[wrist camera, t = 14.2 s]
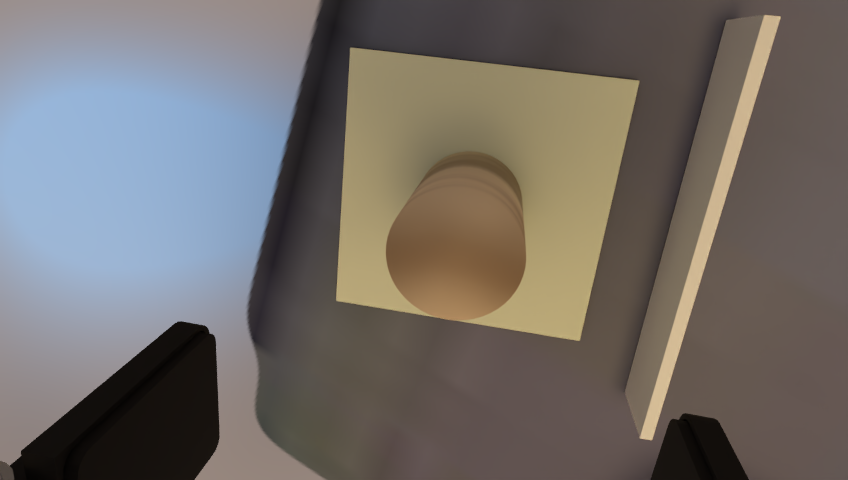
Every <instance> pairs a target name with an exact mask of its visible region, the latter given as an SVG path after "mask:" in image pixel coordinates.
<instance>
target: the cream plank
mask: <svg viewBox="0 0 848 480" xmlns="http://www.w3.org/2000/svg"><path fill="white" fill-rule="evenodd" d="M780 18H781V17H779V16H769V15H761V16H753V17H746V18H738V19H731V20H726V23H725V26H724V30H723V34H722V37H721V41H720V44H719V48H718V52H717V55H716V59H715V63H714V66H713V70H712V74H711V77H710V81H709V85H708V88H707V92H706V96H705V99H704V103H703V107H702V110H701V114H700V118H699V121H698V125H697V129H696V132H695V136H694V140H693V143H692V147H691V151H690V154H689V158H688V162H687V165H686V169H685V173H684V176H683V180H682V184H681V187H680V191H679V195H678V198H677V202H676V206H675V209H674V213H673V217H672V220H671V224H670V228H669V231H668V235H667V239H666V242H665V246H664V250H663V253H662V257H661V261H660V264H659V268H658V272H657V275H656V279H655V283H654V286H653V290H652V294H651V297H650V301H649V305H648V308H647V312H646V316H645V319H644V323H643V327H642V330H641V334H640V338H639V341H638V345H637V349H636V352H635V356H634V360H633V363H632V367H631V370H630V374H629V378H628V381H627V385H626V389H625V395H626V398H627V401H628V404H629V407H630V410H631V413H632V416H633V419H634V422H635V425H636V428H637V431H638V434H639V437H640V438H642V439H647V440H652V439H653V435H654V432H655V429H656V425H657V422H658V419H659V416H660V412H661V409H662V406H663V402H664V399H665V396H666V393H667V389H668V386H669V383H670V379H671V376H672V373H673V369H674V366H675V363H676V360H677V356H678V353H679V350H680V346H681V343H682V340H683V337H684V333H685V330H686V327H687V323H688V320H689V317H690V314H691V310H692V307H693V304H694V300H695V297H696V294H697V291H698V287H699V284H700V281H701V277H702V274H703V271H704V268H705V264H706V261H707V258H708V254H709V251H710V248H711V245H712V241H713V238H714V235H715V231H716V228H717V225H718V222H719V218H720V215H721V212H722V208H723V205H724V202H725V198H726V195H727V192H728V189H729V185H730V182H731V179H732V175H733V172H734V169H735V166H736V162H737V159H738V156H739V152H740V149H741V146H742V143H743V139H744V136H745V133H746V129H747V126H748V123H749V120H750V116H751V113H752V110H753V106H754V103H755V100H756V97H757V93H758V90H759V87H760V83H761V80H762V77H763V74H764V70H765V67H766V64H767V60H768V57H769V54H770V50H771V47H772V44H773V41H774V37H775V34H776V31H777V27H778V24H779V21H780Z"/></svg>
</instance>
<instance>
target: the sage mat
mask: <svg viewBox="0 0 848 480" xmlns="http://www.w3.org/2000/svg"><path fill="white" fill-rule="evenodd" d="M638 86H639V81H638V80H630V79H621V78H612V77H604V76H595V75H586V74H578V73H569V72H560V71H552V70H543V69H534V68H526V67H517V66H508V65H500V64H491V63H482V62H474V61H465V60H456V59H448V58H439V57H430V56H422V55H413V54H404V53H396V52H387V51H378V50H370V49H361V48H350V62H349V80H348V98H347V115H346V133H345V151H344V169H343V187H342V205H341V223H340V241H339V258H338V276H337V294H336V301H341V302H347V303H353V304H359V305H365V306H371V307H377V308H383V309H389V310H395V311H401V312H407V313H414V314H420V315H426V316H432V315H429V314H427V313H425V312H423V311H421V310H420V309H418V308H416V307H415V306H414V305H412V304H411V303H410V302H409V301H407V299H406V298H405V297H404V296H403V295H402V294H401V293H400V292H399V290H398V289H397V287H396V286H395V284H394V282H393V280H392V278H391V276H390V273H389V270H388V266H387V261H386V243H387V237H388V234H389V231H390V228H391V226H392V224H393V222H394V221H395V219H396V217H397V216H398V214H399V213H400V211H401V210H402V208H403V207H404V206H405V204H406V203H407V201H408V200H409V198H410V197H411V195H412V194H413V192H414V191H415V189H416V188H417V186H418V185H419V184H420V182H421V181H422V179H423V178H424V176H425V175H426V173H427V172H428V171H429V169H430V168H431V167H432V166H433V165H434V164H436V163H437V162H438V161H440V160H441V159H443V158H445V157H447V156H449V155H451V154H454V153H459V152H467V151H472V152H480V153H484V154H487V155H490V156H492V157H494V158H496V159H498V160H499V161H501V162H502V163H503V164H504V165H506V166H507V167H508V168H509V169H510V171H511V172H512V173H513V175H514V176H515V178H516V180H517V182H518V184H519V187H520V190H521V195H522V204H523V218H524V231H525V245H526V266H525V271H524V275H523V278H522V280H521V283H520V285H519V287H518V288H517V290H516V292H515V293H514V294H513V295H512V297H511V298H510V299H509V300H508V301H507V302H506V303H505V304H504V305H502V306H501V307H500V308H498V309H497V310H495V311H493V312H492V313H490V314H487V315H485V316H482V317H479V318H475V319H470V320H456V321H462V322H468V323H474V324H480V325H486V326H492V327H498V328H504V329H510V330H517V331H523V332H529V333H535V334H541V335H547V336H553V337H559V338H565V339H571V340H577V341H580V337H581V333H582V328H583V324H584V320H585V315H586V311H587V307H588V302H589V298H590V294H591V289H592V285H593V281H594V276H595V272H596V268H597V263H598V259H599V255H600V250H601V246H602V242H603V237H604V233H605V229H606V224H607V220H608V216H609V211H610V207H611V203H612V198H613V194H614V190H615V185H616V181H617V177H618V172H619V168H620V164H621V159H622V155H623V151H624V146H625V142H626V138H627V133H628V129H629V125H630V120H631V116H632V112H633V107H634V103H635V99H636V94H637V90H638ZM432 317H435V316H432Z"/></svg>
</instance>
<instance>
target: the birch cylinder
mask: <svg viewBox="0 0 848 480" xmlns="http://www.w3.org/2000/svg"><path fill="white" fill-rule="evenodd" d="M386 261H387V266H388V270H389V273H390V276H391V278H392V280H393V282H394V284H395V286H396V287H397V289H398V290H399V292H400V293H401V294H402V295H403V296H404V297H405V298H406V299H407V301H409V302H410V303H411V304H412V305H414V306H415V307H416V308H418V309H420V310H421V311H423V312H425V313H427V314H429V315H432V316H435V317H438V318H442V319H447V320H470V319H475V318H479V317H482V316H485V315H487V314H490V313H492V312H493V311H495V310H497V309H498V308H500V307H501V306H502V305H504V304H505V303H506V302H507V301H508V300H509V299H510V298H511V297H512V295H513V294H514V293H515V292H516V290H517V288H518V287H519V285H520V283H521V280H522V278H523V275H524V271H525V266H526V245H525V231H524V218H523V204H522V195H521V190H520V187H519V184H518V182H517V180H516V178H515V176H514V175H513V173H512V172H511V171H510V169H509V168H508V167H507V166H506V165H504V164H503V163H502V162H501V161H499V160H498V159H496V158H494V157H492V156H490V155H487V154H484V153H480V152H472V151H467V152H459V153H454V154H451V155H449V156H447V157H445V158H443V159H441V160H440V161H438V162H437V163H436V164H434V165H433V166H432V167H431V168H430V169H429V171H428V172H427V173H426V175H425V176H424V178H423V179H422V181H421V182H420V184H419V185H418V186H417V188H416V189H415V191H414V192H413V194H412V195H411V197H410V198H409V200H408V201H407V203H406V204H405V206H404V207H403V208H402V210H401V211H400V213H399V214H398V216H397V217H396V219H395V221H394V222H393V224H392V226H391V228H390V231H389V234H388V237H387V243H386Z"/></svg>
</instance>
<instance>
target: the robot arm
mask: <svg viewBox="0 0 848 480" xmlns="http://www.w3.org/2000/svg"><path fill="white" fill-rule="evenodd" d="M218 412H219V411H218V387H217V361H216V341H215V337H214V335H213V334H209V330H208V328H207V327H206V326H203V325H198V324H192V323H187V322H177V323H175V324H174V325H172V326H171V327H170V328H169V329H168V330H166V331H165V332H164V333H163V334H162V335H160V336H159V337H158V338H157V339H156V340H154V341H153V342H152V343H151V344H150V345H148V346H147V347H146V348H145V349H144V350H142V351H141V352H140V353H139V354H137V355H136V356H135V357H134V358H133V359H132V360H130V361H129V362H128V363H127V364H125V365H124V366H123V367H122V368H121V369H119V370H118V371H117V372H116V373H115V374H113V375H112V376H111V377H110V378H109V379H107V380H106V381H105V382H104V383H102V385H100V386H99V387H98V388H96V389H95V390H94V391H93V392H92V393H90V394H89V395H88V396H87V397H86V398H84V399H83V400H82V401H81V402H80V403H78V404H77V405H76V406H75V407H74V408H72V409H71V410H70V411H69V412H68V413H66V414H65V415H64V416H63V417H61V418H60V419H59V420H58V421H57V422H56V423H54V424H53V425H52V426H51V427H49V428H48V429H47V430H46V431H45V432H43V433H42V434H41V435H40V436H39V437H37V438H36V439H35V440H34V441H33V442H31V443H30V444H29V445H28V446H27V447H25V448H24V449H23V450H22V451H21V455H22V456H21V457H20V458H19V459H17V460H16V461H15V462H14V463H13V464H11V465H10V466H9V465H8V464H7V463H5V462H2V461H0V480H194V479H195V478H196V477H197V475H198V474H199V473H200V471H201V470H202V469H203V467H204V466H205V464H206V463H207V462H208V460H209V459H210V458H211V456H212V455H213V453H214V452H215V450H216V448H217V445H218V442H219V413H218ZM651 480H749V479H748V477H747V475H746V473H745V471H744V470H743V468H742V466H741V464H740V462H739V460H738V458H737V456H736V454H735V452H734V450H733V448H732V446H731V444H730V442H729V440H728V439H727V437H726V435H725V433H724V431H723V429H722V427H721V425H720V423H719V422H718V420H716V419H714V418H708V417H703V416H697V415H692V414H686V413H685V414H682V416H681V417H680V419H679V420H677V419H672V420H671V421H670V423H669V425H668V428H667V431H666V434H665V437H664V440H663V443H662V446H661V449H660V453H659V456H658V459H657V462H656V465H655V468H654V471H653V474H652V477H651Z"/></svg>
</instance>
